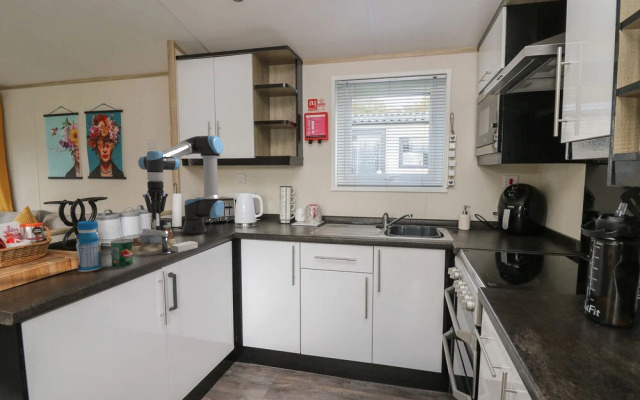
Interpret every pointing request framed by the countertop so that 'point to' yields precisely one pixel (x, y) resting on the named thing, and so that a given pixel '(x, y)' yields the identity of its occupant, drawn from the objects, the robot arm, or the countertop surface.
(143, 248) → the hand plane
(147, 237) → the grey rectangular block
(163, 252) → the lever post
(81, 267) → the beverage bottle
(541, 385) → the countertop surface
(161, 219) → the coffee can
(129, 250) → the canned tomato
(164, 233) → the latch lever
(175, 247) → the block
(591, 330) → the countertop surface
